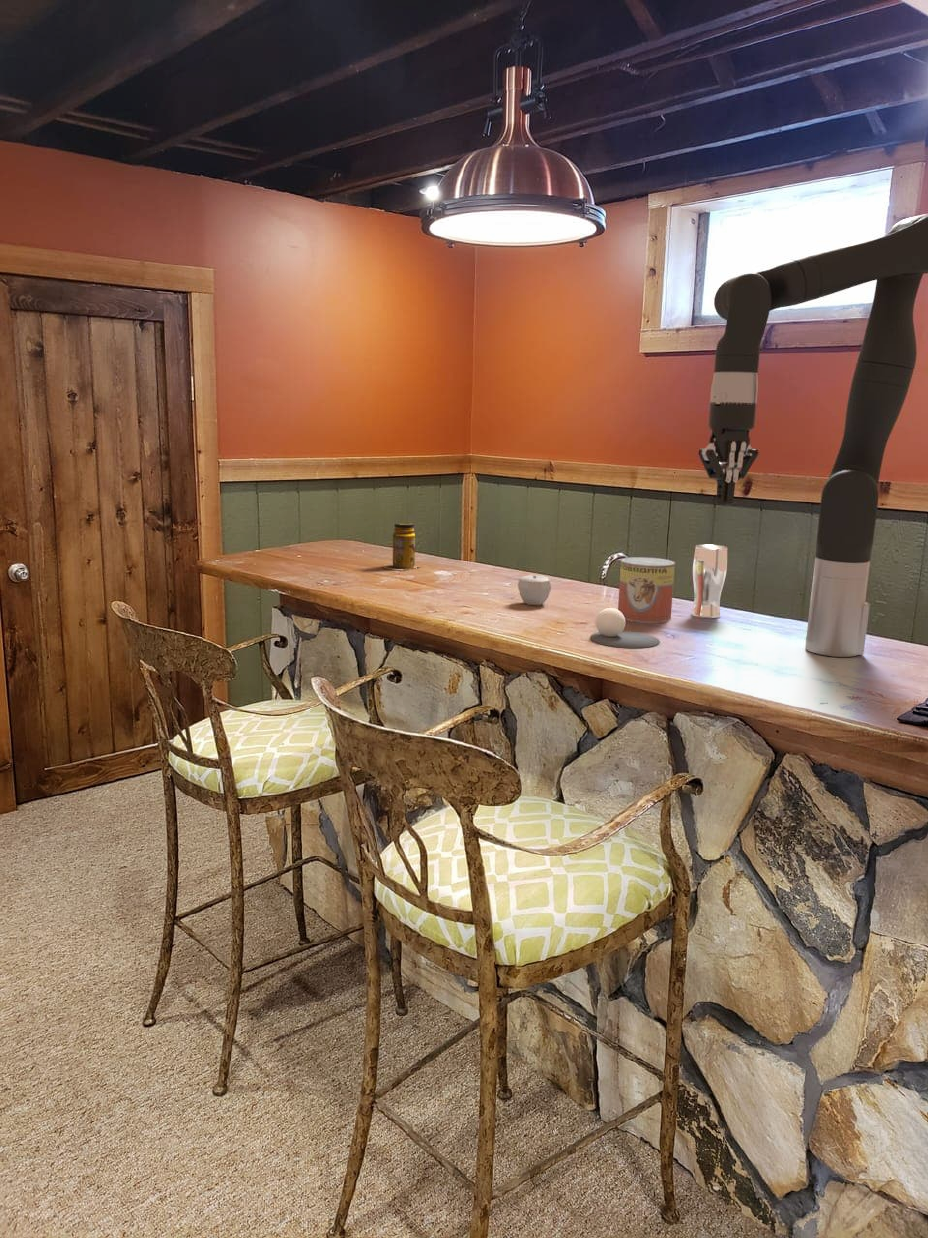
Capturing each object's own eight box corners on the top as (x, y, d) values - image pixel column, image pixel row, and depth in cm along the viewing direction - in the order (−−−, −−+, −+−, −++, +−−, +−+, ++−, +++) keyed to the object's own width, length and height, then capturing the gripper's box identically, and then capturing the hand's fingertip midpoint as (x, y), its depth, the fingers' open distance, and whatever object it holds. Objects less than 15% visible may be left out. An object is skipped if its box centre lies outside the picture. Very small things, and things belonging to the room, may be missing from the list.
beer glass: (697, 610, 202) (703, 543, 198) (727, 615, 197) (733, 546, 194) (683, 615, 196) (689, 546, 193) (713, 620, 192) (720, 549, 189)
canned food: (612, 619, 191) (616, 562, 188) (622, 609, 201) (625, 555, 198) (667, 625, 187) (671, 567, 184) (674, 614, 197) (678, 559, 195)
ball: (634, 627, 175) (613, 619, 180) (626, 605, 172) (604, 599, 176) (616, 646, 173) (595, 638, 178) (607, 625, 170) (586, 617, 174)
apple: (510, 601, 207) (511, 572, 205) (541, 599, 209) (543, 571, 208) (524, 608, 199) (526, 579, 198) (557, 606, 202) (558, 577, 201)
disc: (649, 632, 180) (649, 631, 180) (667, 648, 167) (667, 647, 167) (584, 631, 179) (584, 630, 179) (597, 648, 167) (597, 646, 167)
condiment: (421, 568, 249) (422, 524, 246) (397, 571, 243) (398, 526, 240) (404, 564, 254) (404, 521, 251) (380, 567, 248) (380, 523, 245)
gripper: (741, 402, 160) (733, 501, 164) (689, 399, 153) (681, 503, 157) (777, 402, 154) (767, 505, 158) (724, 399, 147) (714, 507, 151)
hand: (724, 504), depth 157 cm, fingers closed
